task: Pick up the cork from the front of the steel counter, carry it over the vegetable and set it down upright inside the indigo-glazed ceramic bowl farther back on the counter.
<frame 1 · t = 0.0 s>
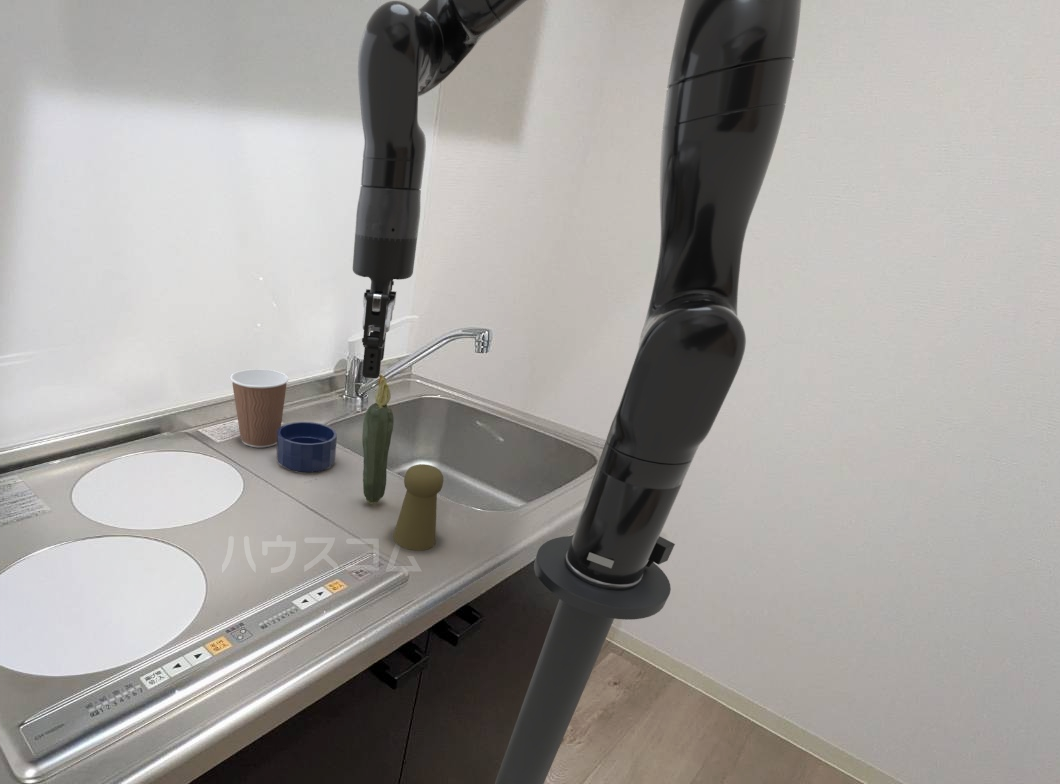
hand: (373, 368, 79), 21 cm above the table, tool pointing down, fingers open, 8 cm apart
vegetable: (369, 506, 91), on the table
cork: (413, 539, 83), on the table
bowl: (305, 462, 103), on the table
coffee cup: (260, 441, 110), on the table
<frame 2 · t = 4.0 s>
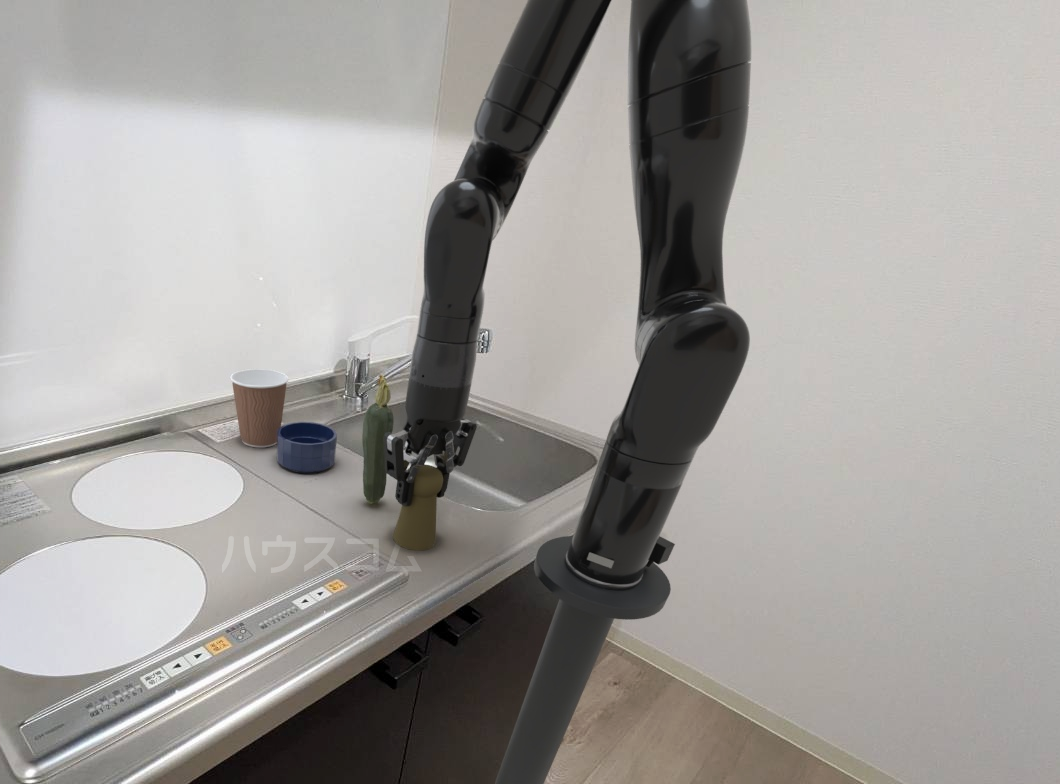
hand: (420, 498, 79), 6 cm above the table, tool pointing down, fingers closed on cork, 5 cm apart
cork: (414, 539, 83), on the table, touching gripper
everything else where it was.
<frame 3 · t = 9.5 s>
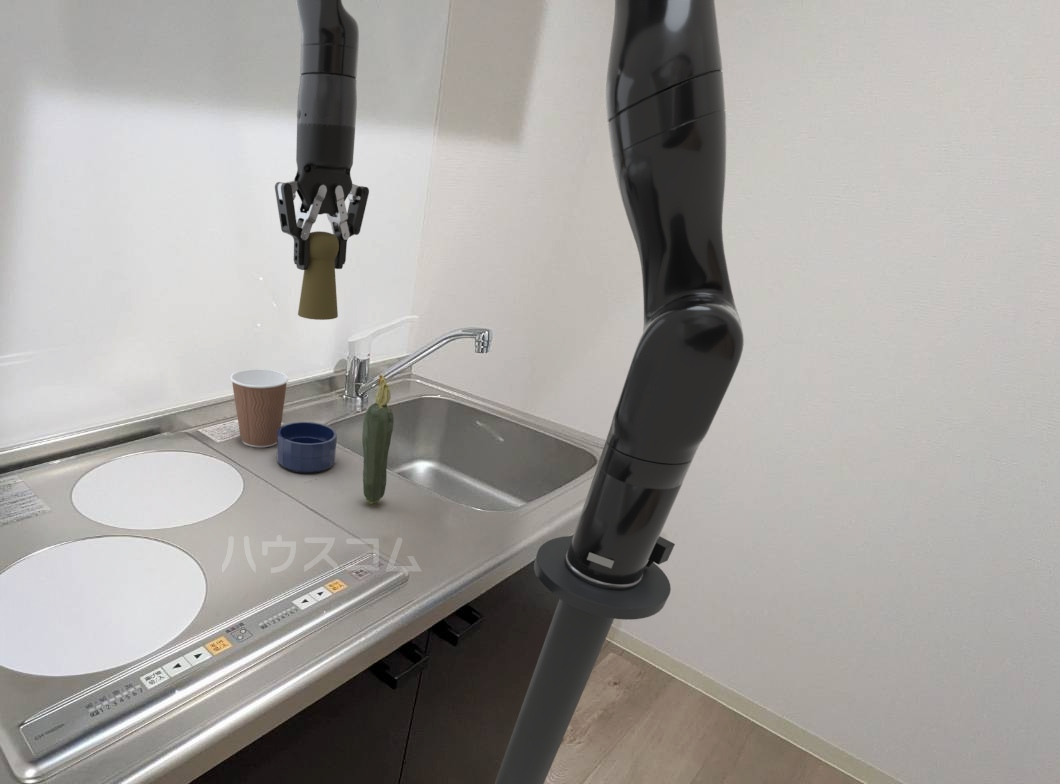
hand: (319, 268, 84), 31 cm above the table, tool pointing down, fingers closed on cork, 5 cm apart
cork: (317, 316, 87), point 25 cm above the table, touching gripper
everything else where it was.
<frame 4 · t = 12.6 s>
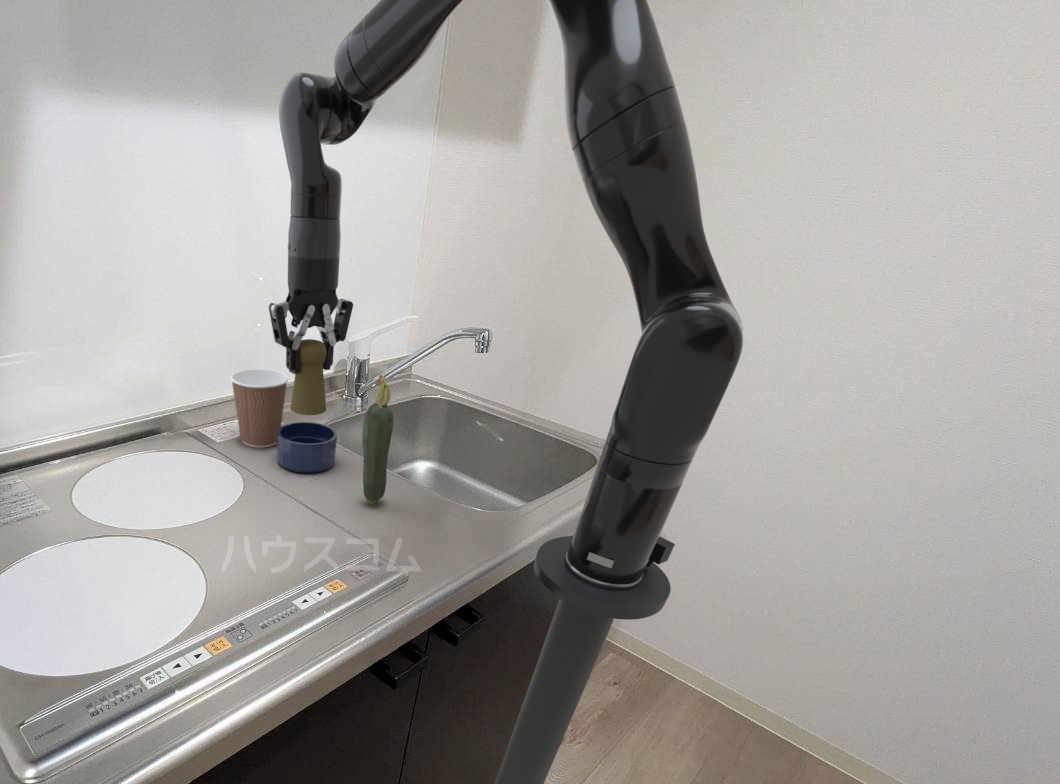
hand: (309, 370, 93), 16 cm above the table, tool pointing down, fingers closed on cork, 5 cm apart
cork: (308, 409, 97), point 10 cm above the table, touching gripper
everything else where it was.
when the fingers open (7 cm above the table, at t = 15.1 s): cork stays where it is, resting on bowl.
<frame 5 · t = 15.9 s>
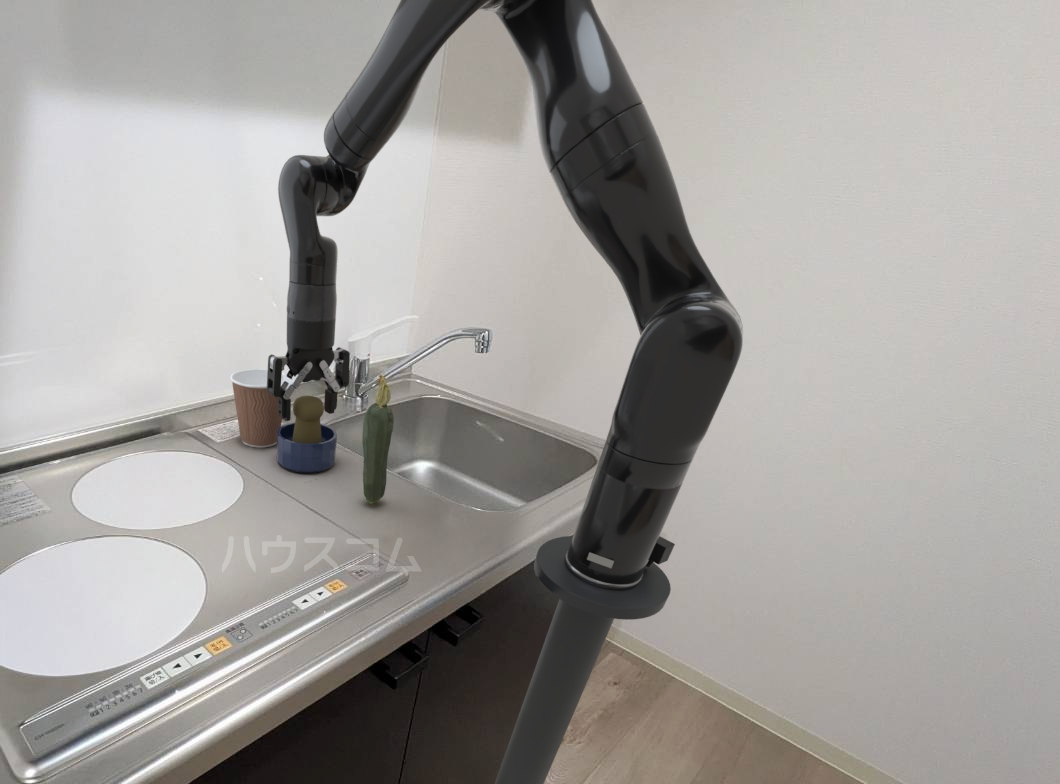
hand: (307, 415, 98), 9 cm above the table, tool pointing down, fingers open, 8 cm apart
cork: (306, 460, 102), resting on bowl
everything else where it was.
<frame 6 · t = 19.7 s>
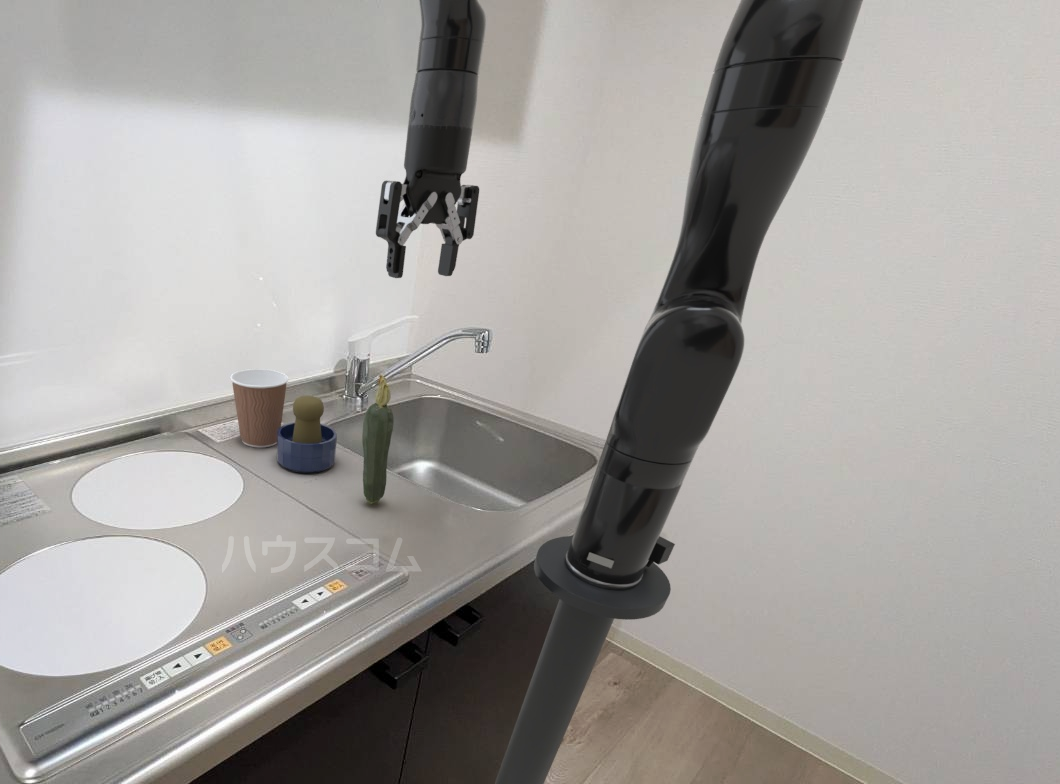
hand: (420, 276, 77), 32 cm above the table, tool pointing down, fingers open, 8 cm apart
nothing on the table moved.
at the end: cork 0.1 cm off-centre in the bowl, point 0.4 cm above the bowl's base; cork tilted 0°; the gripper is holding nothing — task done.
